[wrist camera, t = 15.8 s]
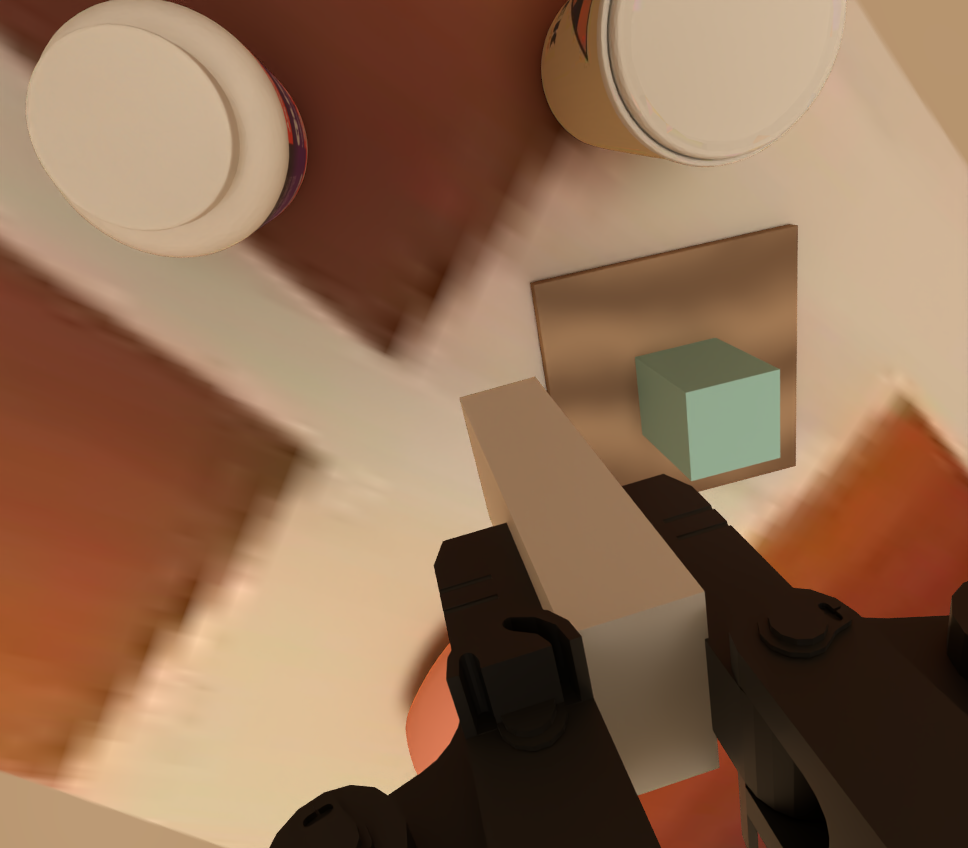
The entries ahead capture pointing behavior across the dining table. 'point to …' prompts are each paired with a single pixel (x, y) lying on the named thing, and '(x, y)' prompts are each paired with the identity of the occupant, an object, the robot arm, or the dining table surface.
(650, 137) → the coffee cup
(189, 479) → the dining table surface
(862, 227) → the dining table surface
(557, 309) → the post stand
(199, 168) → the pill bottle
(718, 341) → the teal green block
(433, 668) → the teapot
